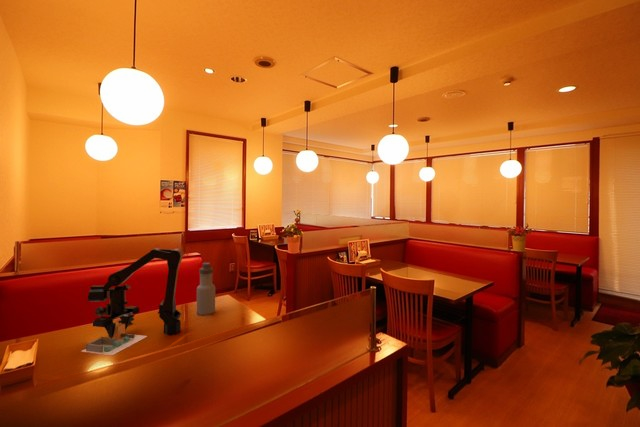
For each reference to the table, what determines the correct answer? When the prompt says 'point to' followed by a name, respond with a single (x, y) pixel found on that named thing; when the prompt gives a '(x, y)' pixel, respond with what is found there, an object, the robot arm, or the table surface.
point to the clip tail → (108, 348)
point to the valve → (129, 323)
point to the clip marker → (123, 341)
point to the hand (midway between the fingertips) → (117, 335)
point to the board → (119, 348)
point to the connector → (121, 332)
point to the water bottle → (206, 291)
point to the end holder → (99, 344)
